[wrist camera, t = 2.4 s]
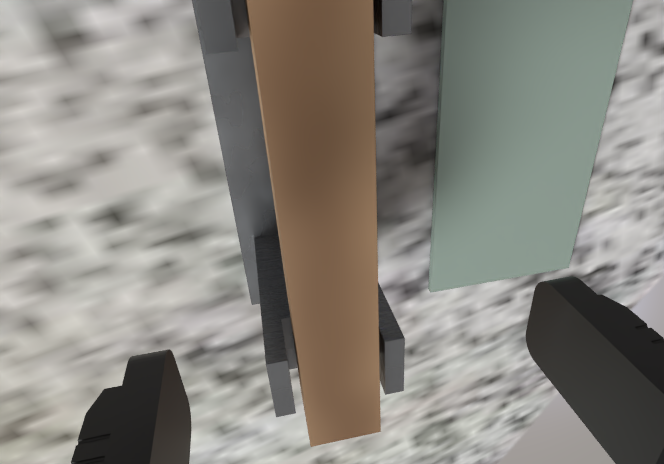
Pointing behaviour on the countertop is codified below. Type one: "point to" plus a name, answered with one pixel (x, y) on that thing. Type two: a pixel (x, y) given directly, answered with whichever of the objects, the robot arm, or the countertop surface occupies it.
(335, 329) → the rail
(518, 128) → the mat
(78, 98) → the countertop surface
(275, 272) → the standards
